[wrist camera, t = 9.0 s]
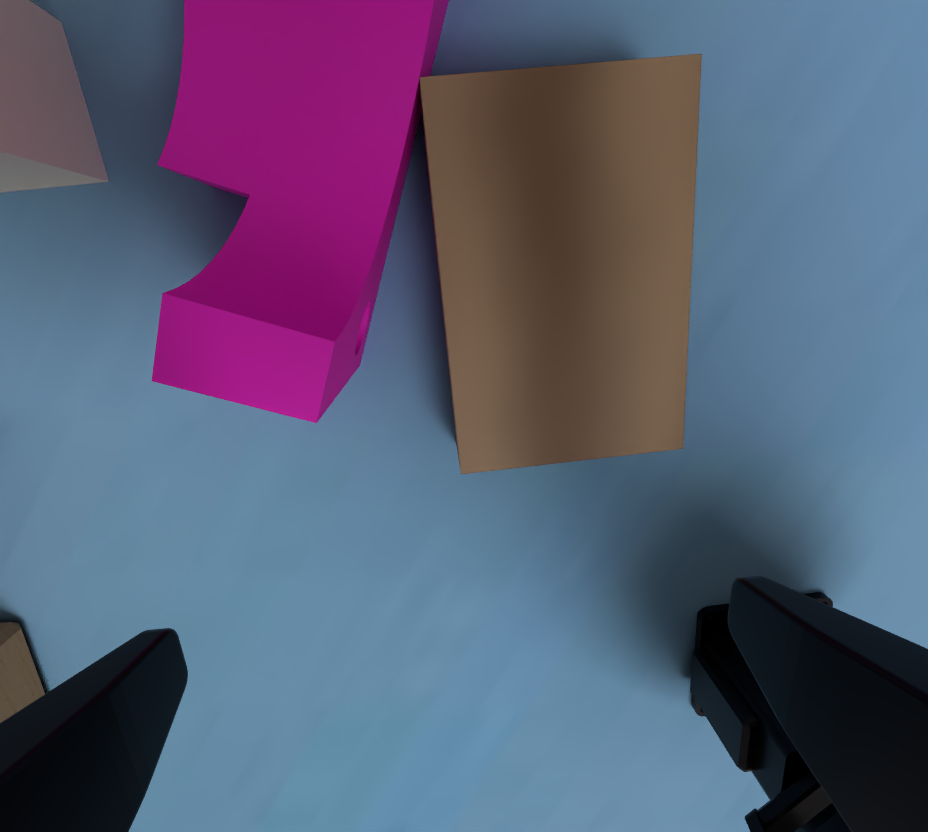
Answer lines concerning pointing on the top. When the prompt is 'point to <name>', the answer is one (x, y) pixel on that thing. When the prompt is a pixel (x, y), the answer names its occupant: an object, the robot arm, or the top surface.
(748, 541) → the top surface
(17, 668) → the decorative block
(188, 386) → the toy block
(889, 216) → the top surface
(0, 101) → the cream cube
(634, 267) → the walnut plinth
